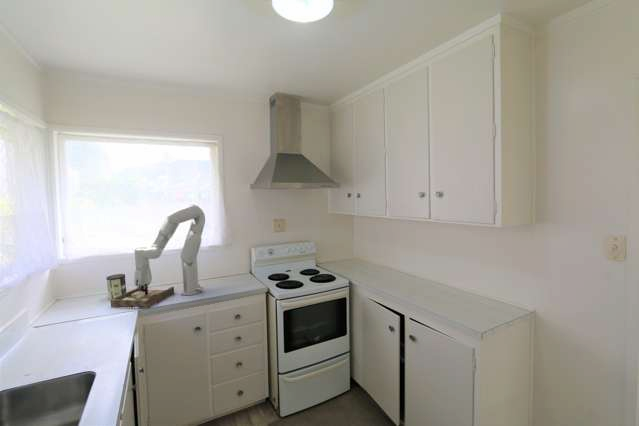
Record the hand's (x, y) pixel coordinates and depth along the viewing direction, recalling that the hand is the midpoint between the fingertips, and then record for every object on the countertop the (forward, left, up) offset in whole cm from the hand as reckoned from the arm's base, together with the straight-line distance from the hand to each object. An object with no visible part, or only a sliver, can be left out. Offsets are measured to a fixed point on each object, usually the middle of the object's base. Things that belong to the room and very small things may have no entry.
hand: (144, 294), depth 188 cm
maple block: (0, +5, -1) cm, 5 cm away
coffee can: (+23, -3, -3) cm, 23 cm away
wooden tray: (0, 0, -3) cm, 3 cm away
